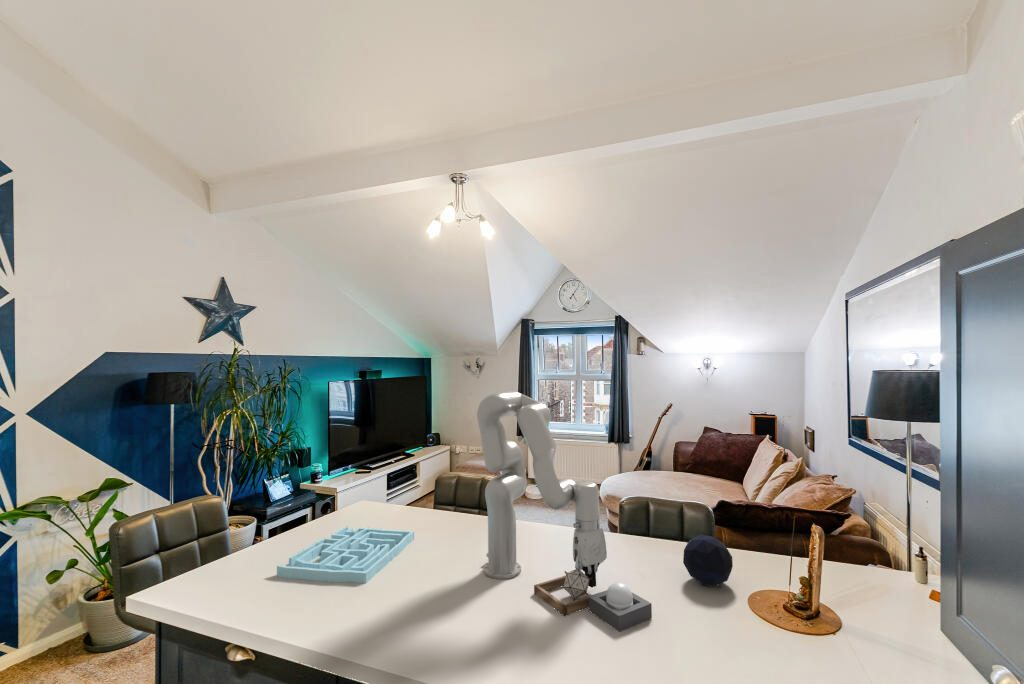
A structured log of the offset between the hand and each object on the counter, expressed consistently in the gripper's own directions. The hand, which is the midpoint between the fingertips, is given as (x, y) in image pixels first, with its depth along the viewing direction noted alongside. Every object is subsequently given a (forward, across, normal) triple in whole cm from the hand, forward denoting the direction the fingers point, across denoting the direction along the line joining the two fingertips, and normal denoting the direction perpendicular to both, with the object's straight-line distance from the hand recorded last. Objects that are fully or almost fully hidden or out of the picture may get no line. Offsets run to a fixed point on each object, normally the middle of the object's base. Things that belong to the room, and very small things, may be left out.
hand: (590, 585), depth 140 cm
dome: (+1, -2, -14) cm, 14 cm away
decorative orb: (+3, +35, -15) cm, 38 cm away
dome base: (+3, -2, -14) cm, 14 cm away
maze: (0, -56, +68) cm, 88 cm away
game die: (+2, -5, 0) cm, 6 cm away
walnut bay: (+2, -8, +1) cm, 8 cm away
